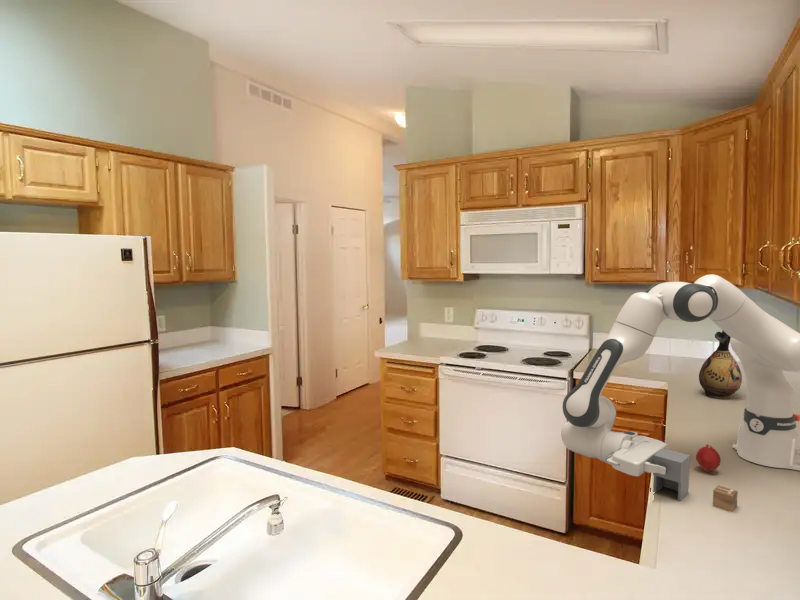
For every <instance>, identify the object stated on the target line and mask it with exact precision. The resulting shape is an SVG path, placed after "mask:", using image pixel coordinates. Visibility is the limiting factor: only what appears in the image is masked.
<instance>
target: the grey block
mask: <svg viewBox="0 0 800 600" xmlns="http://www.w3.org/2000/svg"><path fill="white" fill-rule="evenodd" d="M690 463H691V455H690V454H685V453H682V452H678V451H674V450H670V449H668V448H667V449H664V448H663V449H662V450H660V451H659V452H657V453H656V454H655V455H654V460H653V464H655V465H663V466H666V467H667V473H666V474H664V475H663V474H660V473H652V475H653V482H652V483H653V486H652V489H653V490H652V491H653V493H656V494H657V492H659V491H660V490H661V489H662V488H663V487H664V488H667V489H671V490H673V491H677V501H678V502H681V501H682V500H683V499H684V498H685V497H686V496H687V495H688V494H689V487H690V486H689V485H690V482H689V481H690V467H691V465H690Z"/></svg>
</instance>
